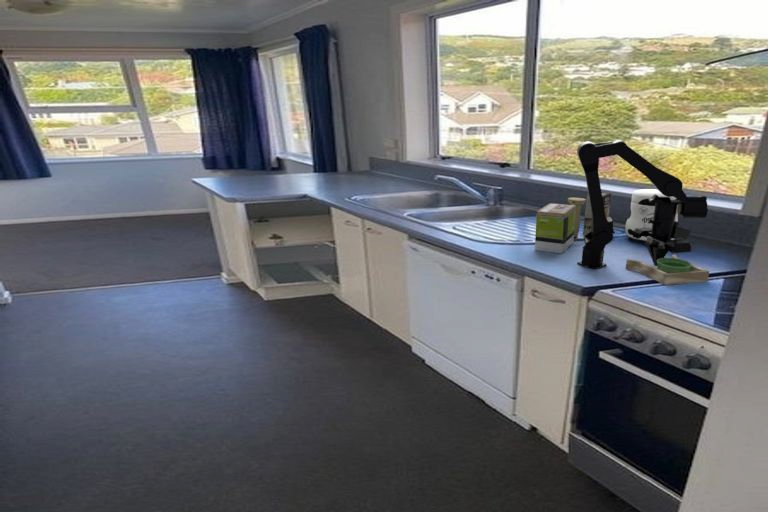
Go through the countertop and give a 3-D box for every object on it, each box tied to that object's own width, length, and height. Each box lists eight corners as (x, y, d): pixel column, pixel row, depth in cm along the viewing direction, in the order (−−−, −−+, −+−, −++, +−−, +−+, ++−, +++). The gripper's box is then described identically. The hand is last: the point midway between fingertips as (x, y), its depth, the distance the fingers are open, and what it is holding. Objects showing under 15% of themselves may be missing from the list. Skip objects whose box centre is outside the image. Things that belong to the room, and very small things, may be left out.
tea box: (546, 240, 183) (549, 202, 179) (573, 243, 178) (577, 204, 173) (533, 250, 172) (536, 210, 167) (562, 254, 166) (565, 212, 161)
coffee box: (598, 237, 184) (603, 196, 179) (582, 235, 188) (586, 194, 183) (607, 232, 190) (612, 192, 185) (591, 230, 194) (595, 191, 189)
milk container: (655, 249, 168) (662, 199, 162) (613, 238, 183) (619, 191, 177) (687, 242, 175) (695, 193, 169) (644, 231, 190) (650, 186, 184)
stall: (624, 267, 151) (625, 258, 150) (673, 263, 153) (674, 254, 152) (659, 285, 136) (661, 275, 135) (713, 280, 138) (714, 270, 137)
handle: (568, 234, 190) (571, 197, 185) (584, 237, 185) (587, 199, 181) (562, 236, 187) (565, 198, 182) (578, 239, 182) (582, 201, 178)
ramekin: (692, 282, 137) (695, 268, 136) (657, 279, 140) (659, 265, 139) (685, 272, 145) (687, 258, 144) (652, 269, 148) (654, 256, 147)
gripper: (712, 222, 136) (703, 273, 141) (666, 209, 154) (659, 255, 158) (677, 225, 134) (669, 277, 139) (634, 211, 152) (628, 257, 157)
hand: (656, 266), depth 148 cm, fingers closed
